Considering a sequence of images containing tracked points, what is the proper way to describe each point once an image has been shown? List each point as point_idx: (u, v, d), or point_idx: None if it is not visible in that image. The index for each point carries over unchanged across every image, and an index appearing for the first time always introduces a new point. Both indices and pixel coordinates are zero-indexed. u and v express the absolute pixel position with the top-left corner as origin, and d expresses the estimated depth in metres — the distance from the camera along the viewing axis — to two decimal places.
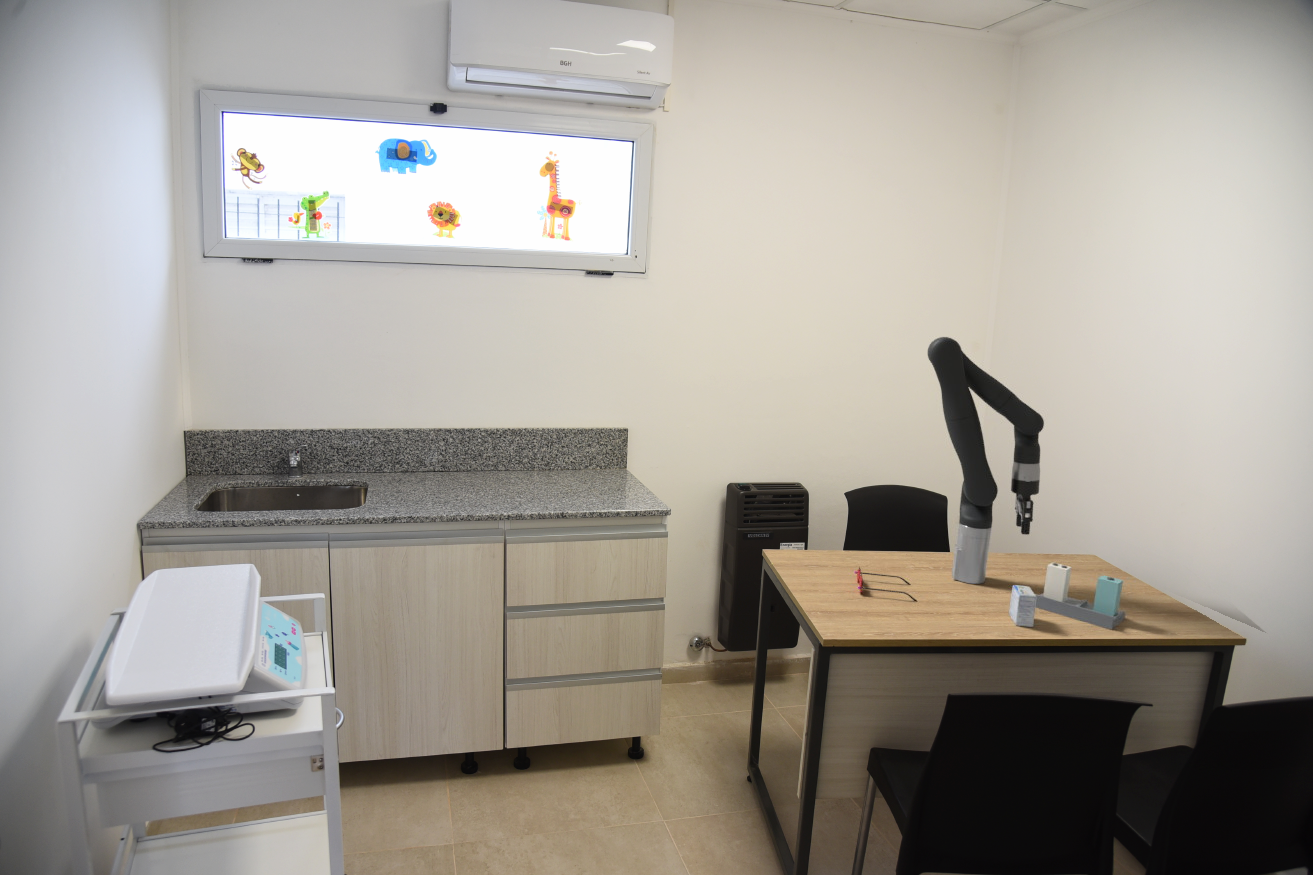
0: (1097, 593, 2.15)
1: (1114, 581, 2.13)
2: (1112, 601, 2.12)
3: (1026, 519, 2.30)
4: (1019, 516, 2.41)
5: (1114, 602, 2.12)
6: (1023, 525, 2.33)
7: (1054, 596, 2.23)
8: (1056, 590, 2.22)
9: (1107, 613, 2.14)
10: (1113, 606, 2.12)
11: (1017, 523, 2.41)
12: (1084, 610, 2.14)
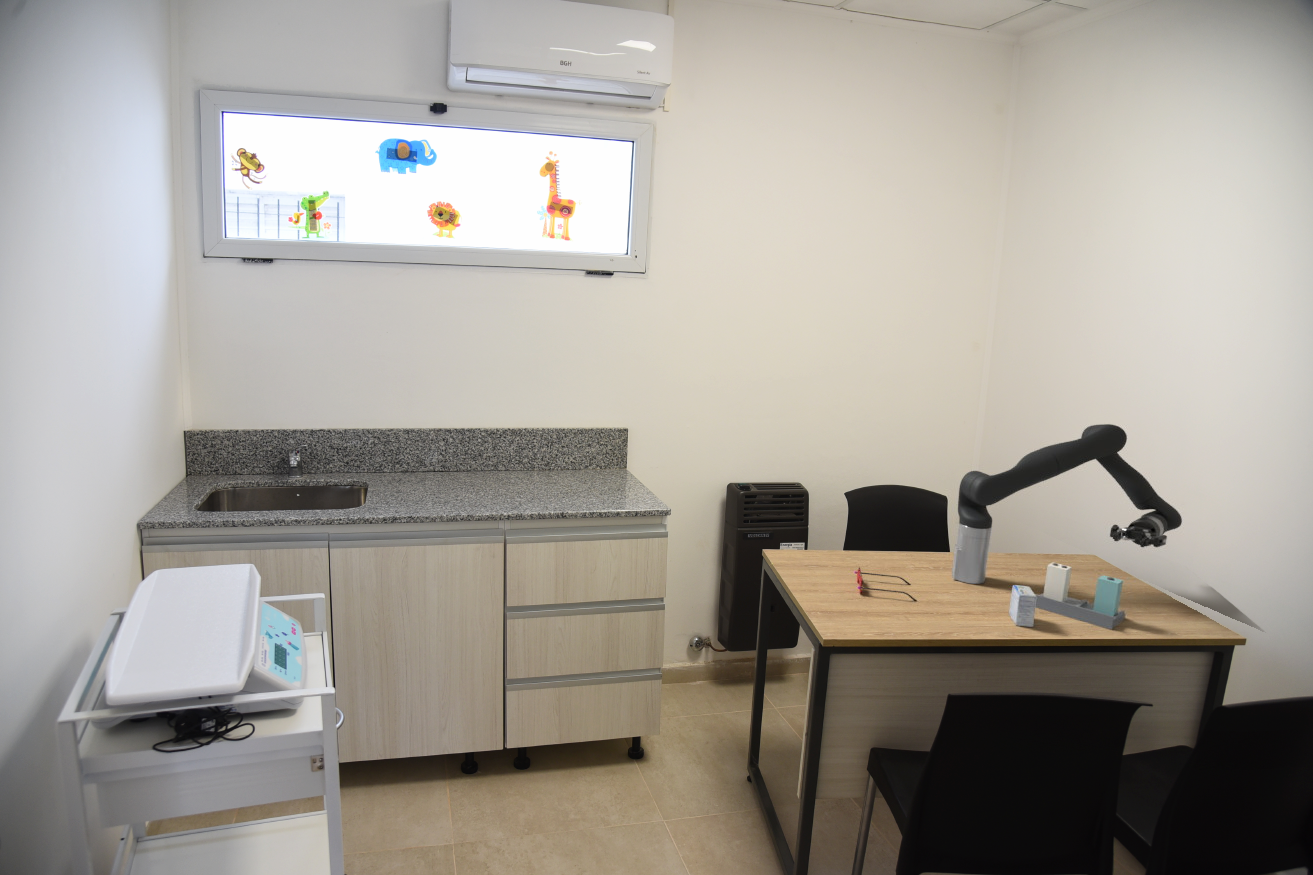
0: (1097, 593, 2.15)
1: (1114, 581, 2.13)
2: (1112, 601, 2.12)
3: (1158, 541, 2.21)
4: (1120, 534, 2.26)
5: (1114, 602, 2.12)
6: (1147, 539, 2.20)
7: (1054, 596, 2.23)
8: (1056, 590, 2.22)
9: (1107, 613, 2.14)
10: (1113, 606, 2.12)
11: (1118, 534, 2.24)
12: (1084, 610, 2.14)
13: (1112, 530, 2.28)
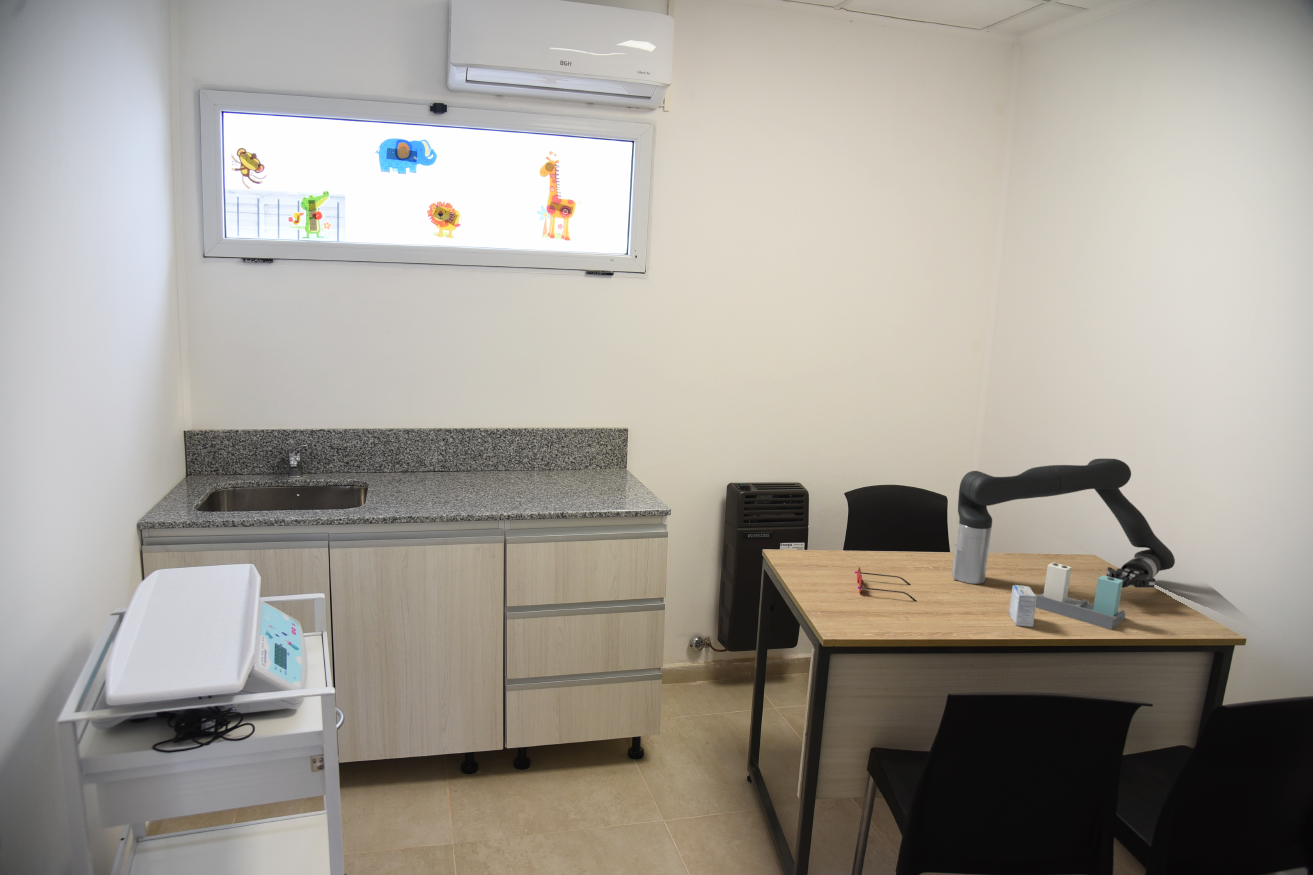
0: (1097, 593, 2.15)
1: (1114, 581, 2.13)
2: (1112, 601, 2.12)
3: (1139, 581, 2.24)
4: None
5: (1114, 602, 2.12)
6: (1127, 580, 2.24)
7: (1054, 596, 2.23)
8: (1056, 590, 2.22)
9: (1107, 613, 2.14)
10: (1113, 606, 2.12)
11: None
12: (1084, 610, 2.14)
13: (1116, 575, 2.28)
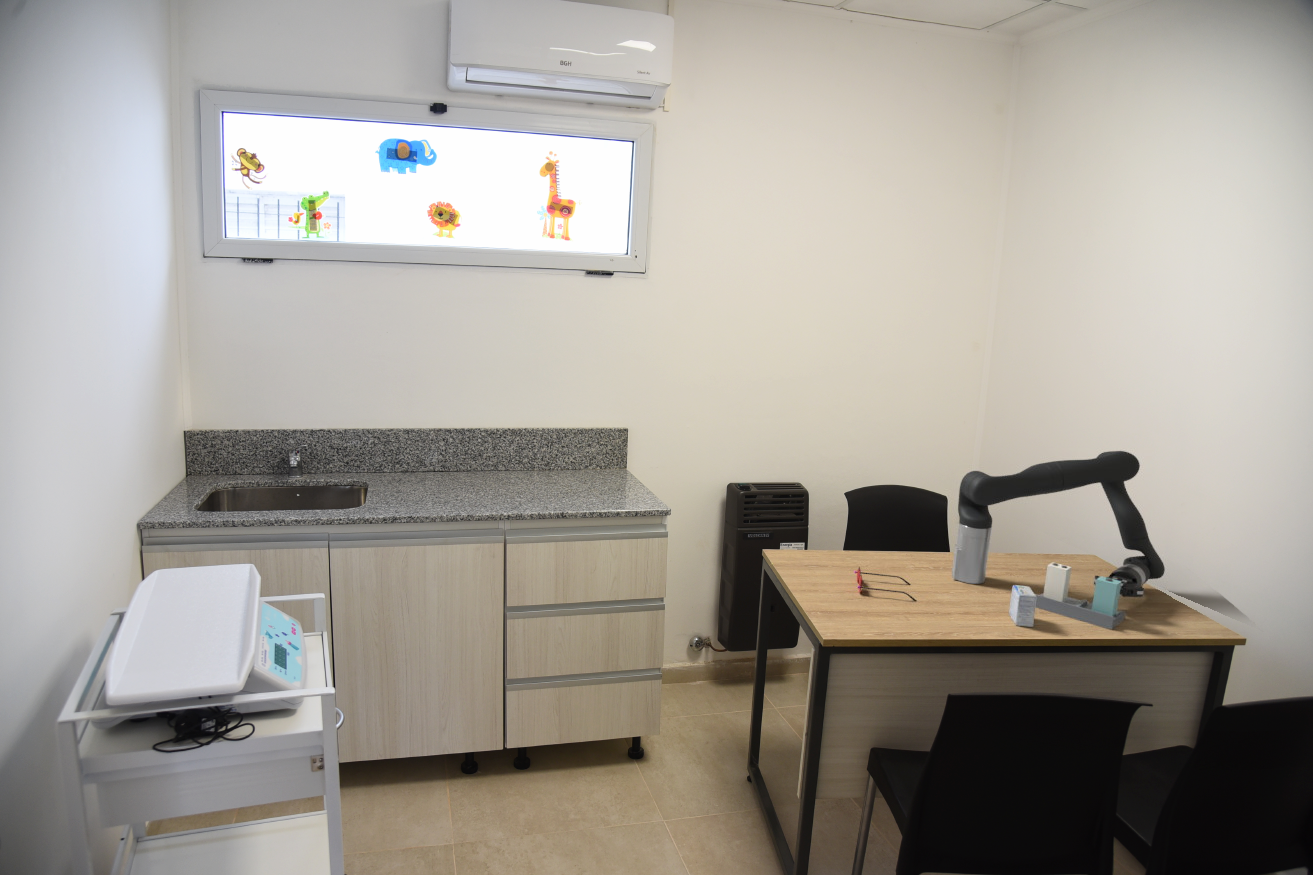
0: (1095, 594, 2.14)
1: (1112, 582, 2.12)
2: (1110, 602, 2.11)
3: (1127, 590, 2.17)
4: None
5: (1112, 603, 2.11)
6: None
7: (1054, 596, 2.23)
8: (1056, 590, 2.22)
9: None
10: (1111, 607, 2.11)
11: None
12: (1084, 610, 2.14)
13: None
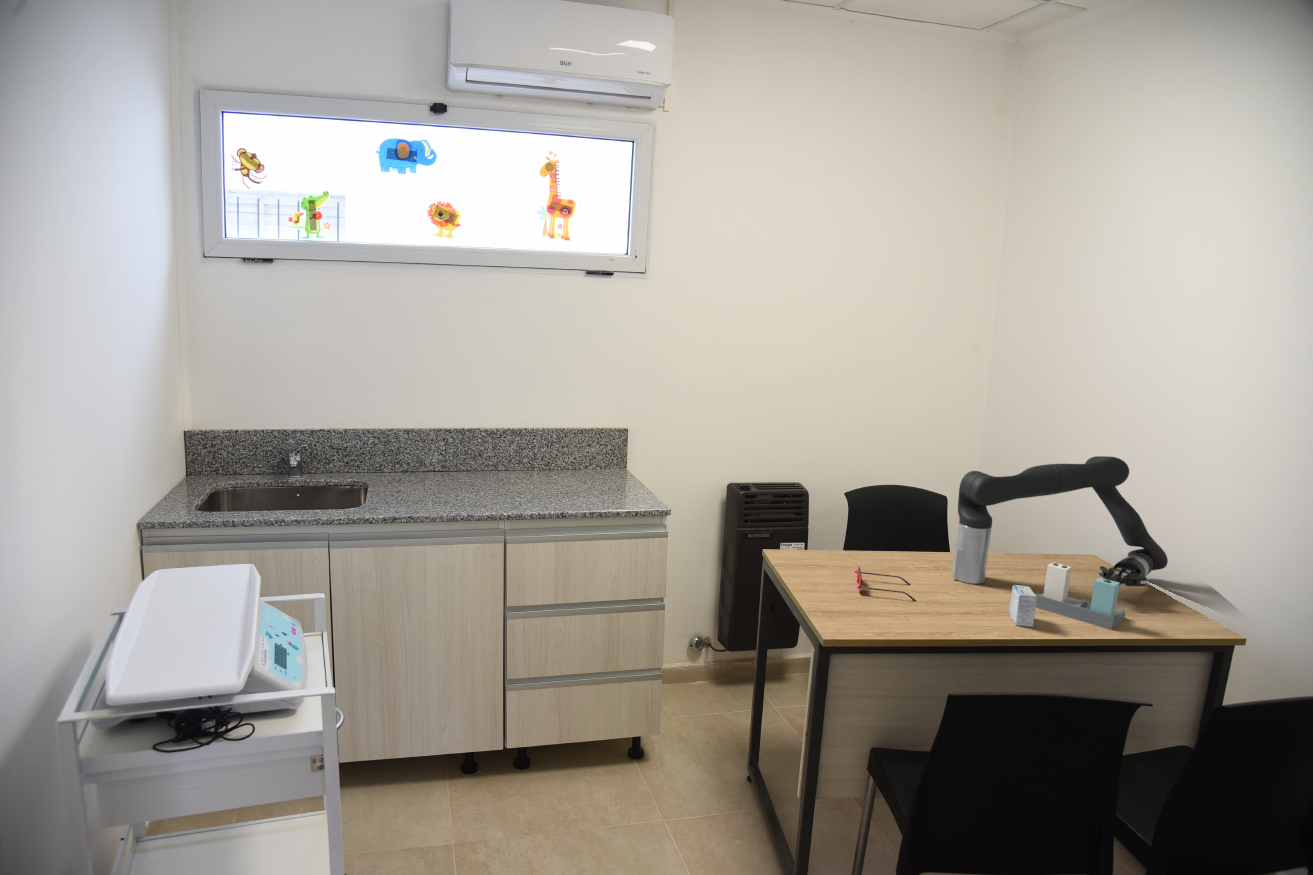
0: (1093, 596, 2.13)
1: (1111, 583, 2.10)
2: (1109, 604, 2.10)
3: (1131, 580, 2.26)
4: None
5: (1111, 605, 2.10)
6: (1119, 578, 2.26)
7: (1054, 596, 2.23)
8: (1056, 590, 2.22)
9: None
10: (1110, 609, 2.10)
11: None
12: (1084, 610, 2.14)
13: (1108, 574, 2.29)
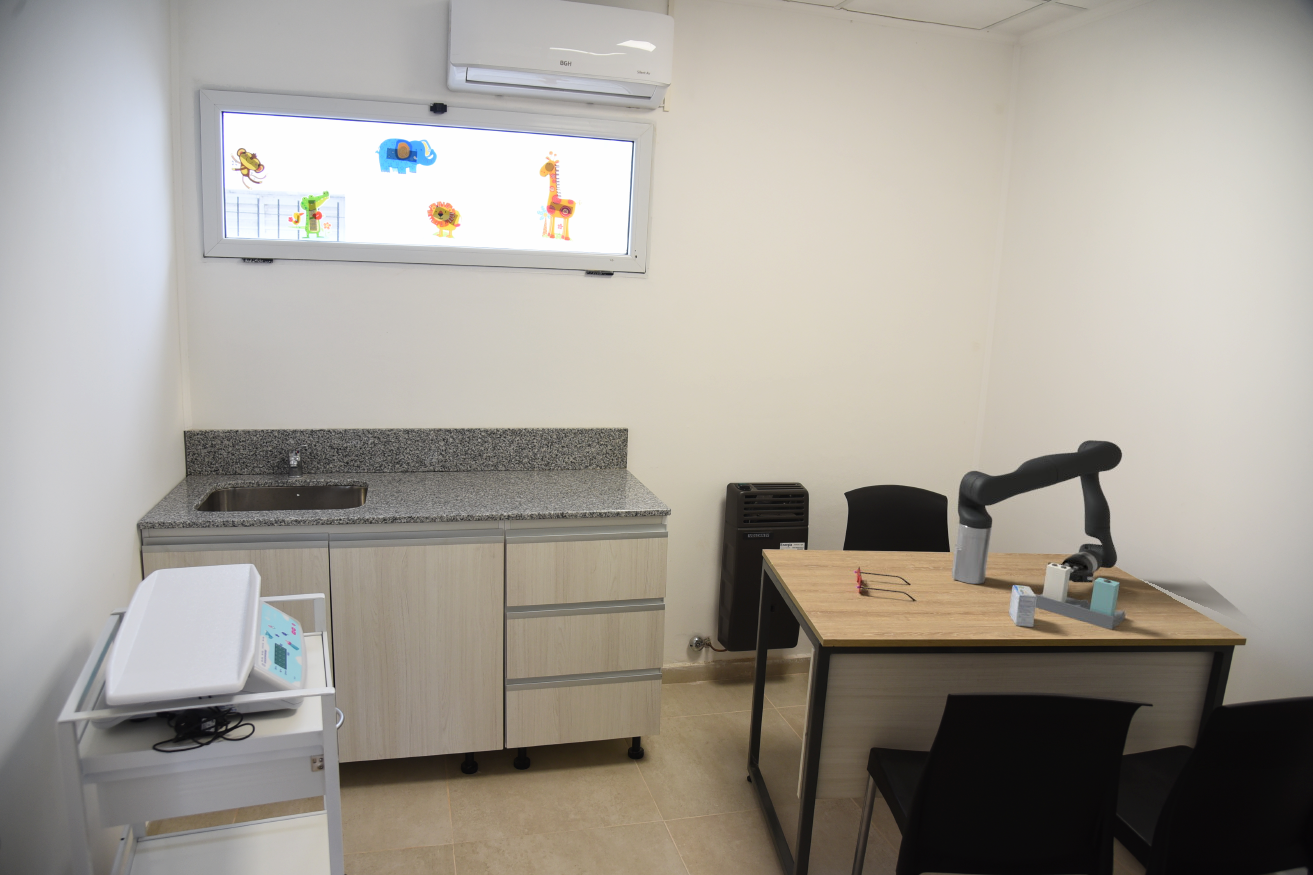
0: (1093, 596, 2.13)
1: (1111, 583, 2.10)
2: (1109, 604, 2.10)
3: (1077, 576, 2.26)
4: None
5: (1111, 605, 2.10)
6: None
7: (1053, 596, 2.23)
8: (1055, 590, 2.22)
9: None
10: (1110, 609, 2.10)
11: None
12: (1084, 610, 2.14)
13: None
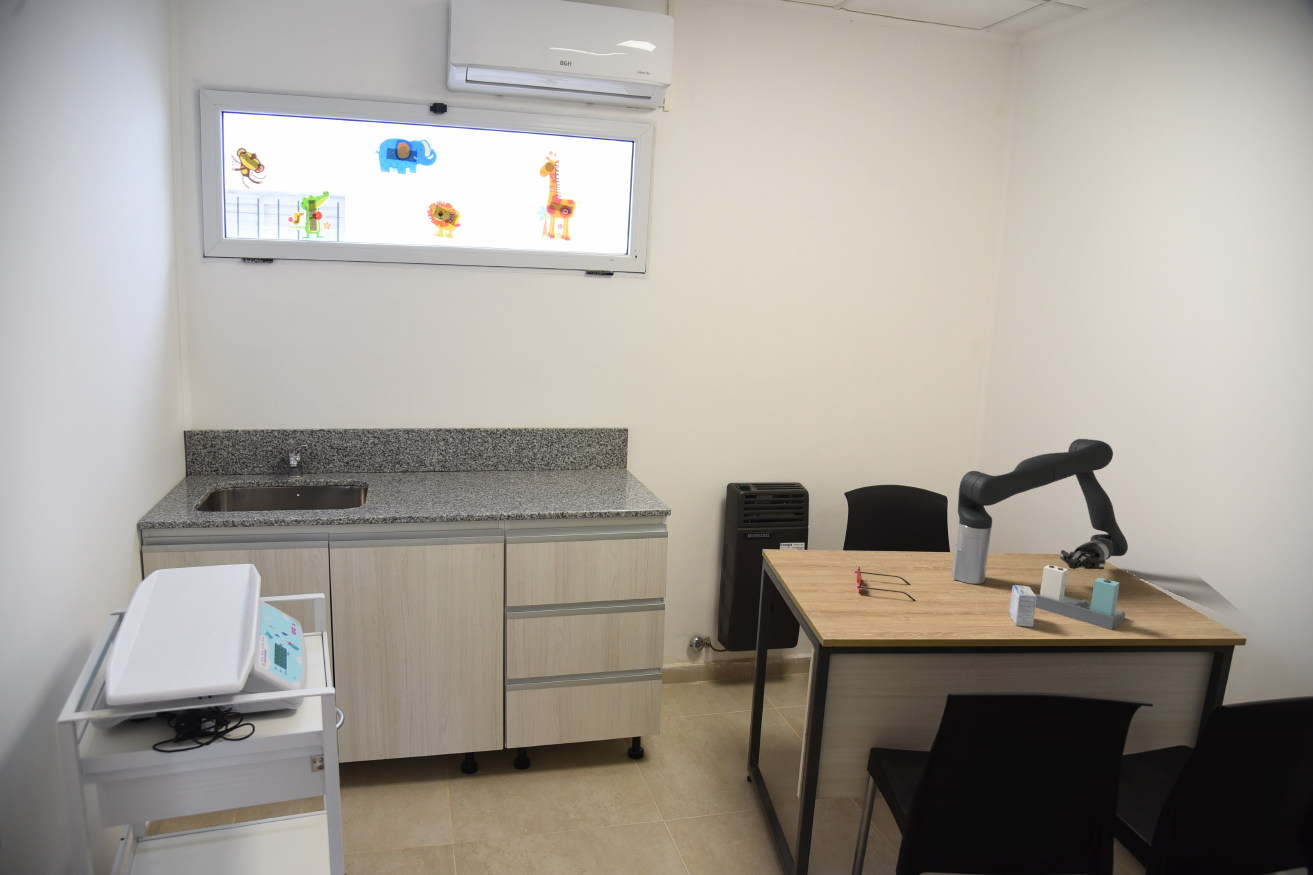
0: (1093, 596, 2.13)
1: (1111, 583, 2.10)
2: (1109, 604, 2.10)
3: (1089, 563, 2.34)
4: None
5: (1111, 605, 2.10)
6: (1078, 562, 2.34)
7: None
8: (1052, 592, 2.20)
9: None
10: (1110, 609, 2.10)
11: None
12: (1084, 610, 2.14)
13: (1068, 557, 2.37)
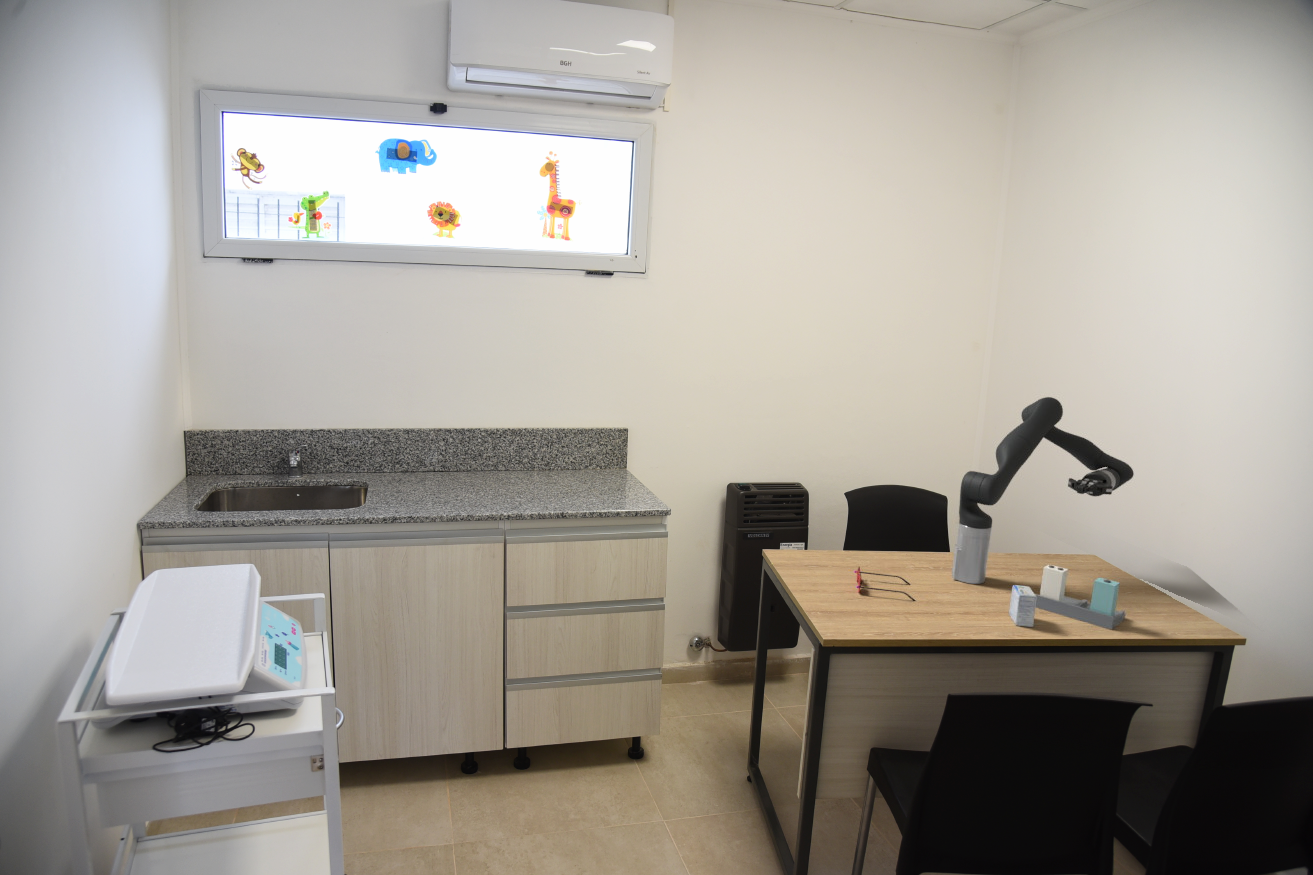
0: (1093, 596, 2.13)
1: (1111, 583, 2.10)
2: (1109, 604, 2.10)
3: (1097, 488, 2.38)
4: None
5: (1111, 605, 2.10)
6: (1086, 487, 2.37)
7: None
8: (1052, 592, 2.20)
9: None
10: (1110, 609, 2.10)
11: None
12: (1084, 610, 2.14)
13: (1076, 484, 2.41)
